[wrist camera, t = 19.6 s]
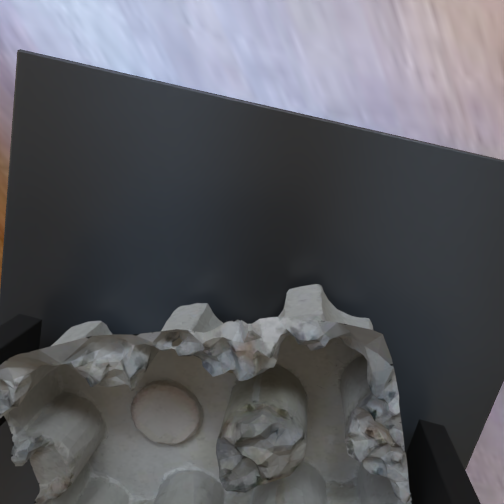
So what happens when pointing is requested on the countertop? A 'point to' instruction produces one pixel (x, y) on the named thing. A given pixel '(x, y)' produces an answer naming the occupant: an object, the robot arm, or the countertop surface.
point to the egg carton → (212, 411)
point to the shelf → (250, 230)
